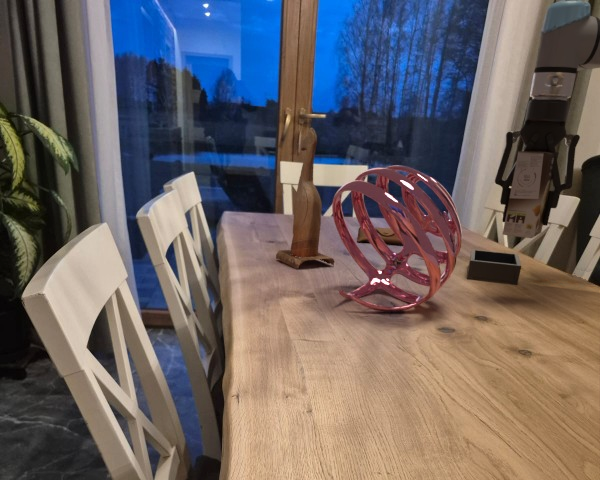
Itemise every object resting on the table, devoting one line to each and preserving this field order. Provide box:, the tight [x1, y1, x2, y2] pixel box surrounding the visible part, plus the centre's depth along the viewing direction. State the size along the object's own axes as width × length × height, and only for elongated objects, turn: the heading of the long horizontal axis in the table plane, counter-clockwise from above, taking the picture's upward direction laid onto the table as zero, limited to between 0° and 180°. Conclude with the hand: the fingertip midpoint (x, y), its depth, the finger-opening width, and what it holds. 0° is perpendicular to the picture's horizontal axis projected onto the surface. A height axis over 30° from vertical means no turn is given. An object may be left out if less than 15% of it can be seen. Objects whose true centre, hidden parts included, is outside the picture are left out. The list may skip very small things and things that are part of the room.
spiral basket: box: [331, 164, 463, 313], centre depth 114 cm, size 28×28×27 cm
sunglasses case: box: [356, 226, 403, 246], centre depth 180 cm, size 18×7×7 cm
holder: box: [466, 248, 522, 285], centre depth 147 cm, size 12×15×5 cm
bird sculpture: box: [275, 127, 335, 270], centre depth 142 cm, size 11×12×32 cm
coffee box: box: [502, 150, 559, 239], centre depth 117 cm, size 9×6×16 cm
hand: (524, 222), depth 120 cm, fingers closed on coffee box, 7 cm apart
